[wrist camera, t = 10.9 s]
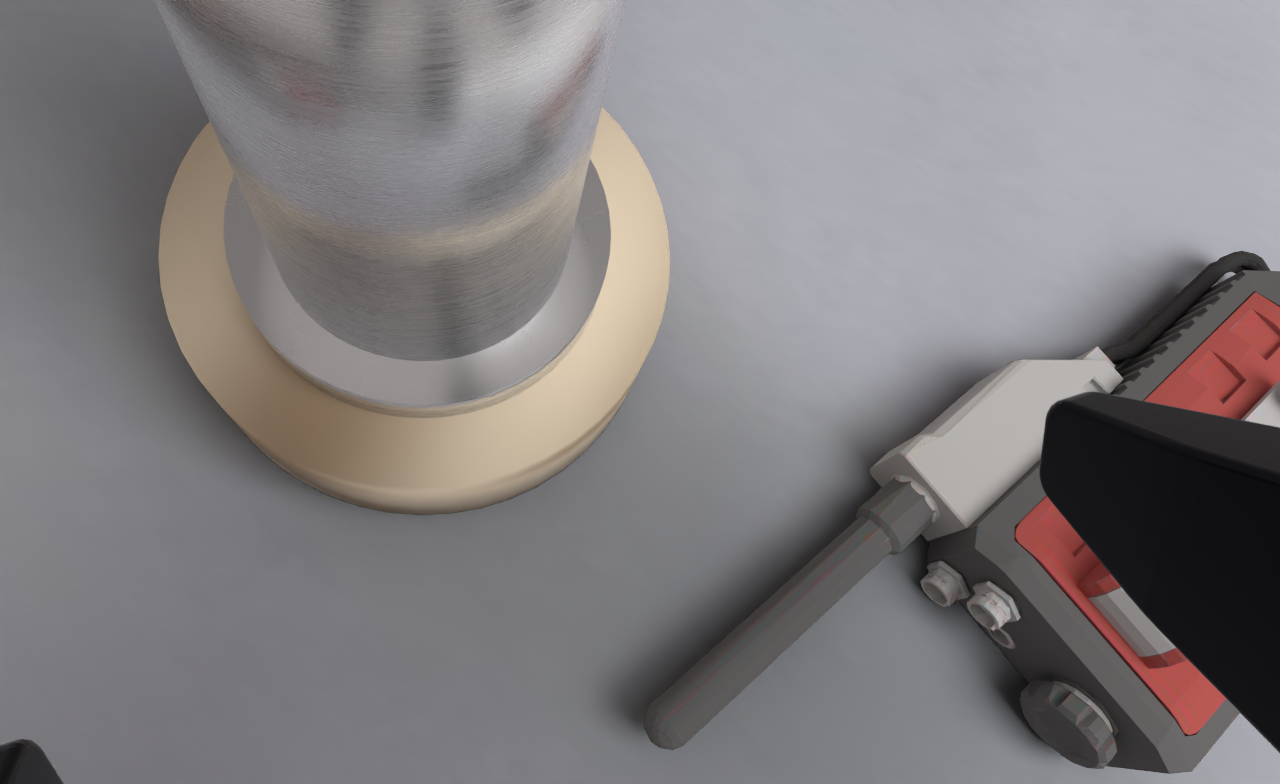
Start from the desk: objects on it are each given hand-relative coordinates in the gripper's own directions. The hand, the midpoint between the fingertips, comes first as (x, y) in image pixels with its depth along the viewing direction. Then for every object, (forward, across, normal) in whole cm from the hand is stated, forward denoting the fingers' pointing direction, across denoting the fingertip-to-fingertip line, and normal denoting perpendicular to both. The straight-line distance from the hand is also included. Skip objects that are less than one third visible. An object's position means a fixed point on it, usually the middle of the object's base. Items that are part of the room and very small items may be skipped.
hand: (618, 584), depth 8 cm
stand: (+15, 0, +3) cm, 15 cm away
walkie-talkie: (+8, -12, +11) cm, 18 cm away
